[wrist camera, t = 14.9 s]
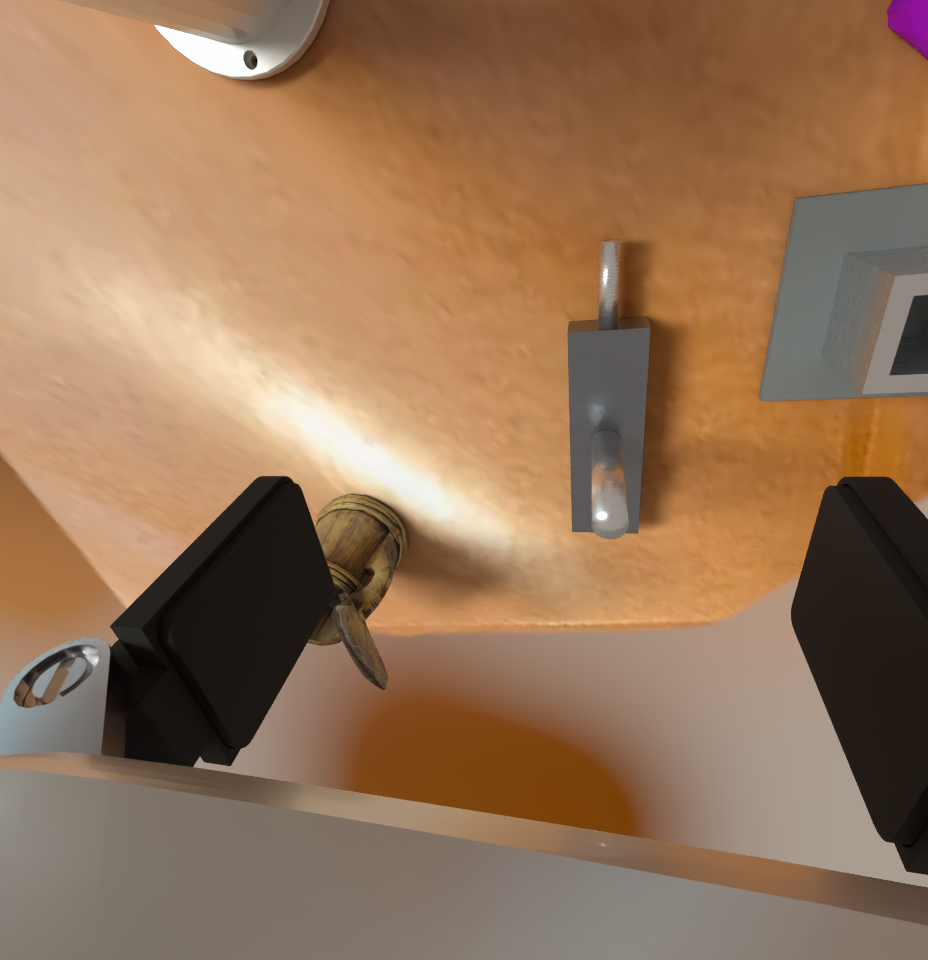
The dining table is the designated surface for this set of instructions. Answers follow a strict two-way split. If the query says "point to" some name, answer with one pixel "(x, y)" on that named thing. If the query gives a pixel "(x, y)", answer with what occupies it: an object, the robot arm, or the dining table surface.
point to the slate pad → (834, 283)
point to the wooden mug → (358, 574)
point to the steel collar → (879, 321)
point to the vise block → (607, 409)
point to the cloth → (910, 22)
